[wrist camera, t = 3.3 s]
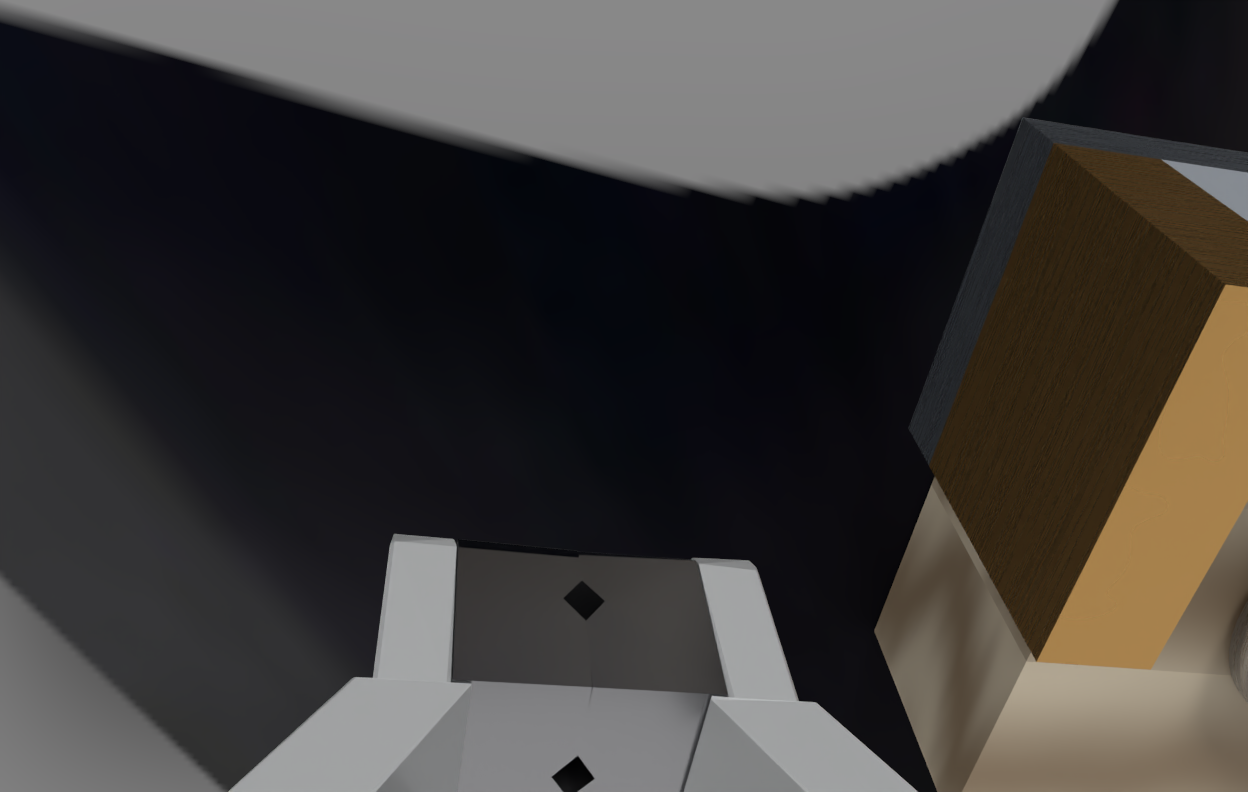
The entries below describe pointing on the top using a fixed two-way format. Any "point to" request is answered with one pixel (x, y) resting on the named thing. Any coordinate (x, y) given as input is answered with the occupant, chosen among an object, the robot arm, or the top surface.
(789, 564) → the top surface
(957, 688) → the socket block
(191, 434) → the top surface
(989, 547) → the keeper plate
